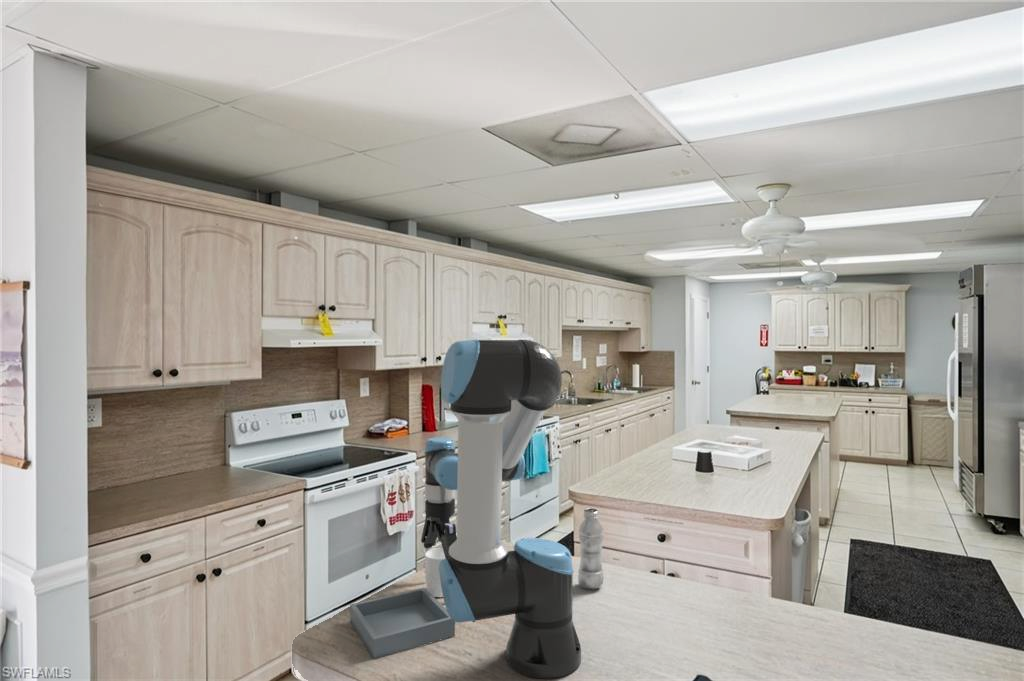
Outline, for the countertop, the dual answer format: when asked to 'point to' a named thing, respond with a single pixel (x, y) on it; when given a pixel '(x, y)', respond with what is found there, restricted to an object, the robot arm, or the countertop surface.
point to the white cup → (434, 571)
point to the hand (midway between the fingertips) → (440, 581)
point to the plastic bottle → (591, 551)
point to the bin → (400, 622)
